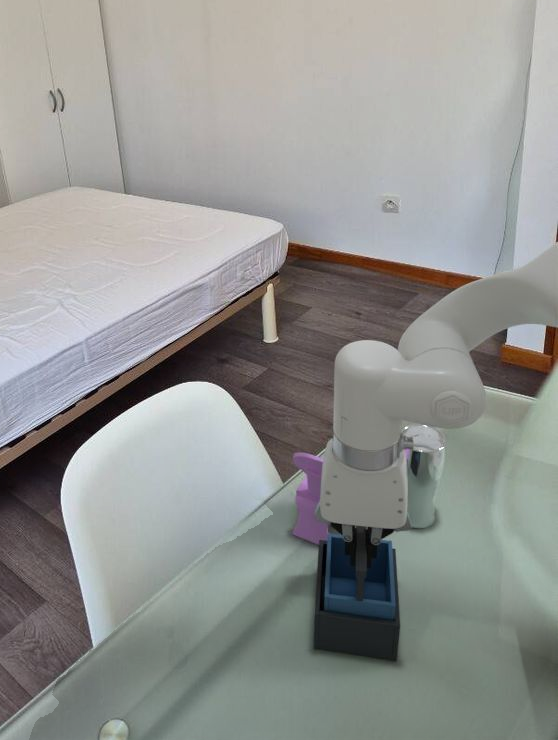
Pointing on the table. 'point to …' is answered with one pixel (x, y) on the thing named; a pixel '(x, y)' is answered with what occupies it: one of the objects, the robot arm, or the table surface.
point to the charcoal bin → (354, 624)
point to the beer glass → (424, 472)
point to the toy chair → (309, 498)
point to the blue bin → (359, 579)
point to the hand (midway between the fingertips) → (360, 557)
